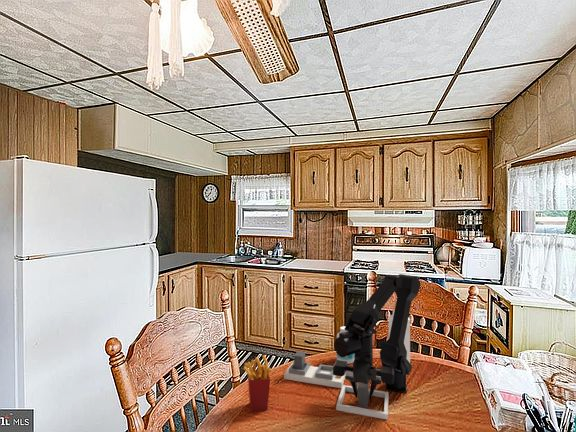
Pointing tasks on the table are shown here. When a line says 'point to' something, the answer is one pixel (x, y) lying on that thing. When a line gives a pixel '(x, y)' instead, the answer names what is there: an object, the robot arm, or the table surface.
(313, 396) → the table surface
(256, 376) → the french fries
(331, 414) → the table surface
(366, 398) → the plug
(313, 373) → the power strip
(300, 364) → the plug
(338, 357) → the pill bottle
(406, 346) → the milk
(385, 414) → the white square frame
